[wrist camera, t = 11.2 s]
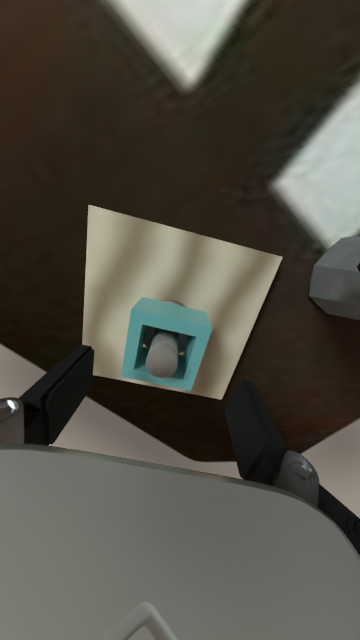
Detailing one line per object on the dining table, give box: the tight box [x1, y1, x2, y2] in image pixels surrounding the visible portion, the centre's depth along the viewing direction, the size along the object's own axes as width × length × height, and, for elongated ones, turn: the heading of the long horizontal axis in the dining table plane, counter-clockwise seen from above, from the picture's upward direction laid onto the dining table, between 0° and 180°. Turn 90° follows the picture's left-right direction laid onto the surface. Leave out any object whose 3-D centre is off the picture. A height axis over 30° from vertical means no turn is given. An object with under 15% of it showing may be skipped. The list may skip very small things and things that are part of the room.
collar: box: [121, 297, 213, 391], centre depth 16 cm, size 6×6×4 cm
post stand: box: [82, 205, 283, 400], centre depth 18 cm, size 20×20×10 cm
